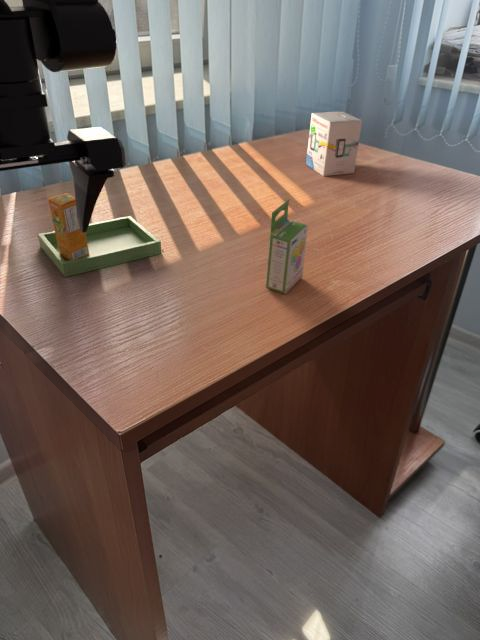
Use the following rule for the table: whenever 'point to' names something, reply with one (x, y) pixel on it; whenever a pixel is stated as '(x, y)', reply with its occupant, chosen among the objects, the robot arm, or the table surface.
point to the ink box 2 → (333, 143)
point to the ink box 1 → (285, 251)
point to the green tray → (105, 246)
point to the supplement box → (68, 227)
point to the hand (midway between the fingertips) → (40, 239)
